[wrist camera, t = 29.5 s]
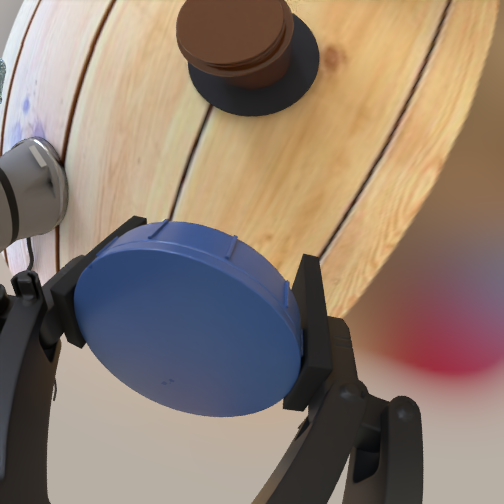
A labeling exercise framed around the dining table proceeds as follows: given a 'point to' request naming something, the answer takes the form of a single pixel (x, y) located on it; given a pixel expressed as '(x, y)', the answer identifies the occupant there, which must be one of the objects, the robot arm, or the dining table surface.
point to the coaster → (271, 96)
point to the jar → (237, 39)
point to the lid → (191, 319)
